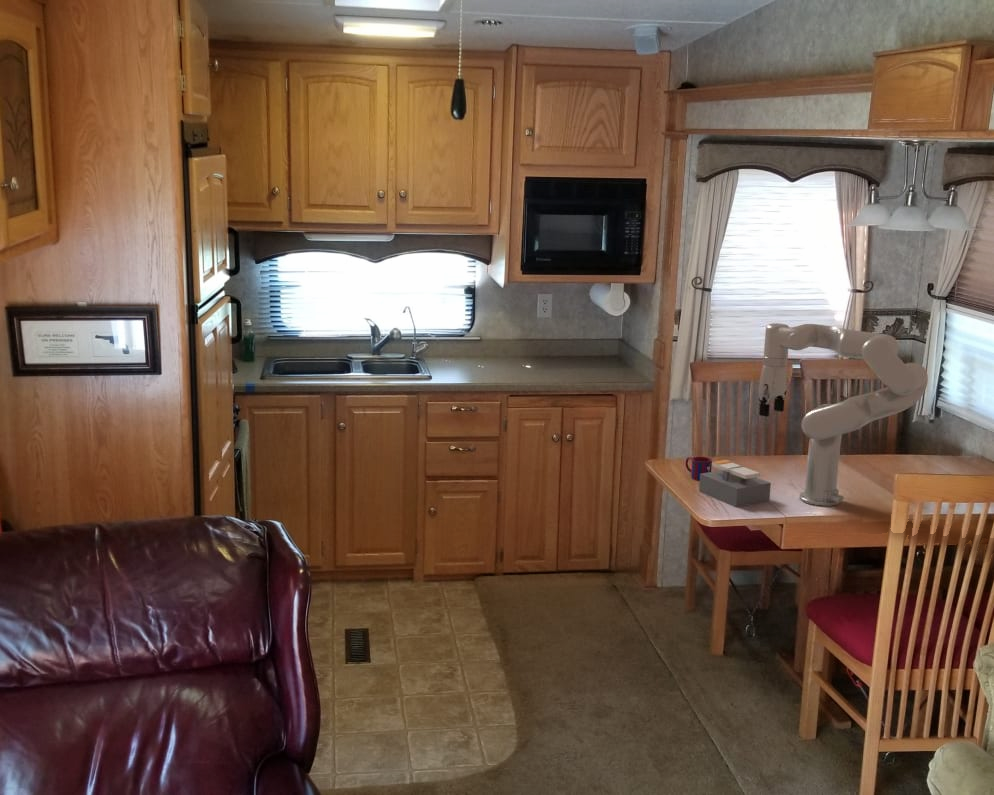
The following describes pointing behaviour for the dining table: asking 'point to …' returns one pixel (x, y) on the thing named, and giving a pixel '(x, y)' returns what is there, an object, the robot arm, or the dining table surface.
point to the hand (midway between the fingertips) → (771, 413)
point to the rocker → (735, 469)
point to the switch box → (734, 488)
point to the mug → (699, 466)
